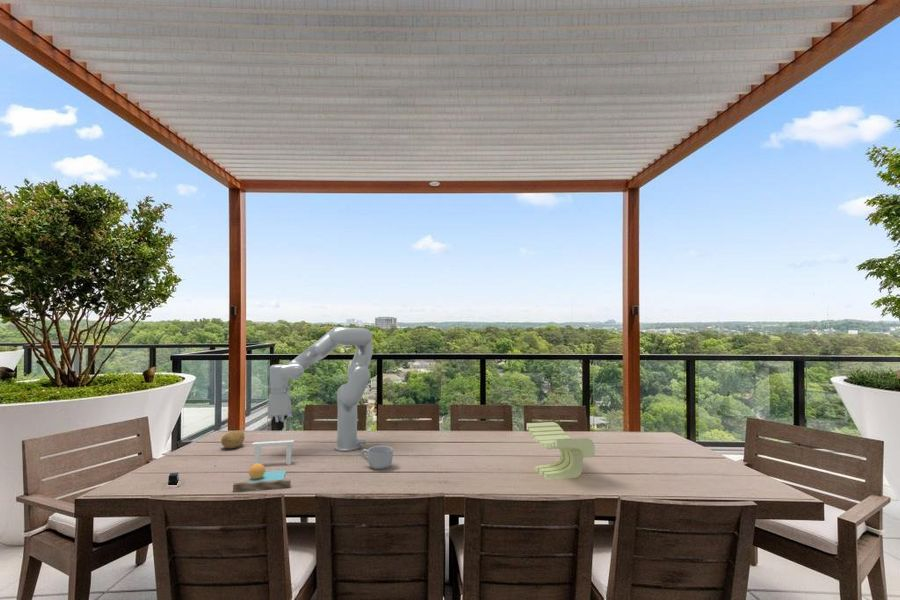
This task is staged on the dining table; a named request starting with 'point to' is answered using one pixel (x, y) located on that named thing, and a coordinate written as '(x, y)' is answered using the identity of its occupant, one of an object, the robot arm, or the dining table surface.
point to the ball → (256, 471)
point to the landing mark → (270, 476)
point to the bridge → (273, 443)
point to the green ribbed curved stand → (561, 450)
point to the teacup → (379, 456)
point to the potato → (233, 439)
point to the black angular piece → (173, 478)
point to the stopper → (262, 485)
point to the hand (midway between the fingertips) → (280, 429)
